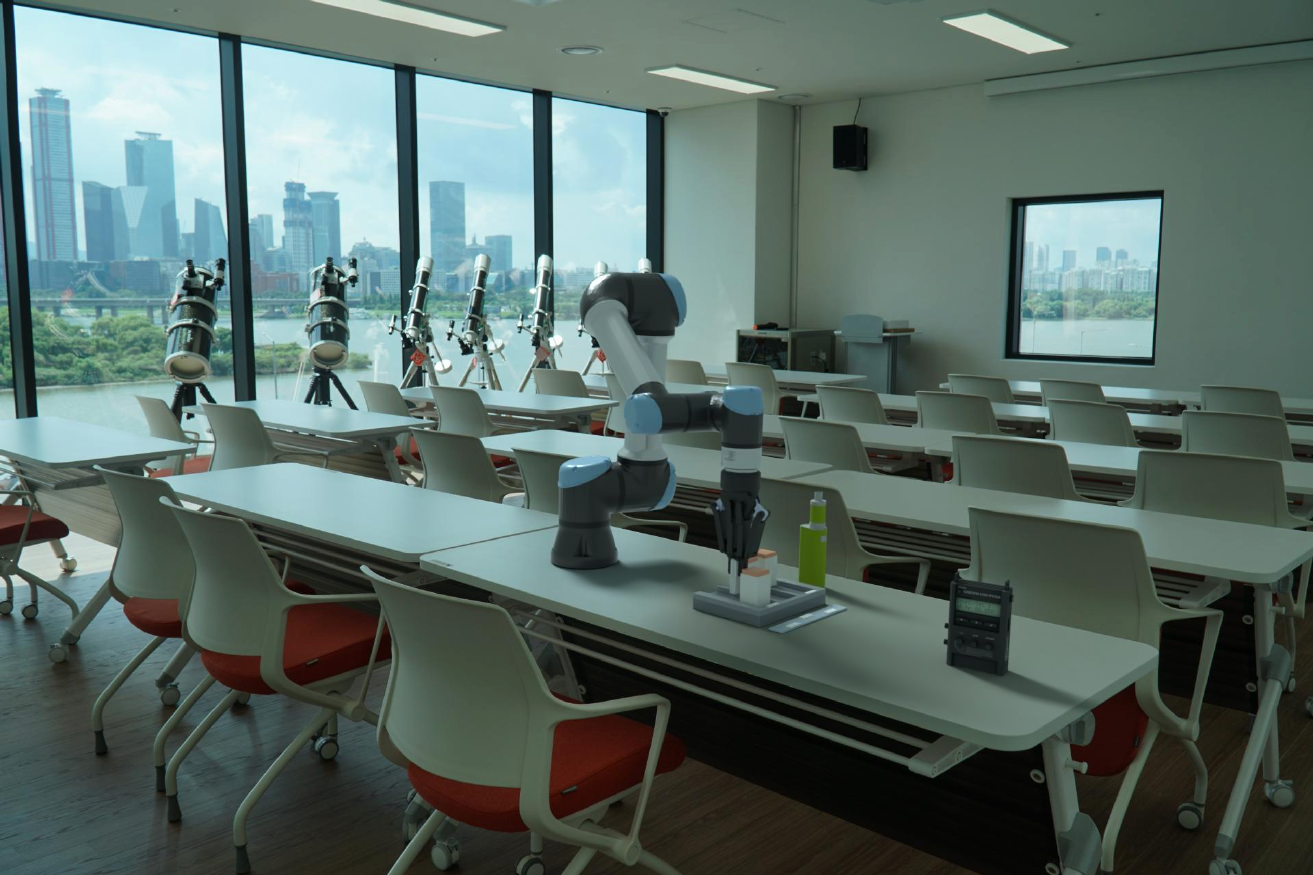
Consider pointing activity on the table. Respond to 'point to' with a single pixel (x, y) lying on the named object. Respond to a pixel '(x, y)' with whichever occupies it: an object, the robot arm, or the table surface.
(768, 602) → the orange topped white block
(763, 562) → the white orange-topped block
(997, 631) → the geiger counter
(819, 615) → the label card
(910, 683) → the table surface
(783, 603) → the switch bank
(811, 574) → the vape
